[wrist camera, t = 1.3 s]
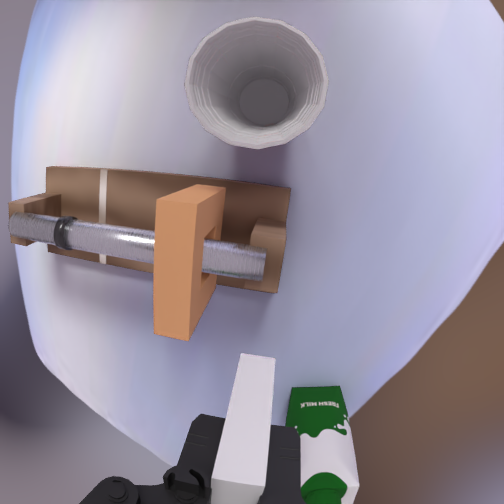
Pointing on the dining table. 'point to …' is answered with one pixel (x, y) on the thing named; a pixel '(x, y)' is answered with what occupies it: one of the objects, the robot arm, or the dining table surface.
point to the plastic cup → (256, 82)
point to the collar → (184, 257)
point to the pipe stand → (144, 212)
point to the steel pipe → (133, 243)
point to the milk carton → (324, 445)
